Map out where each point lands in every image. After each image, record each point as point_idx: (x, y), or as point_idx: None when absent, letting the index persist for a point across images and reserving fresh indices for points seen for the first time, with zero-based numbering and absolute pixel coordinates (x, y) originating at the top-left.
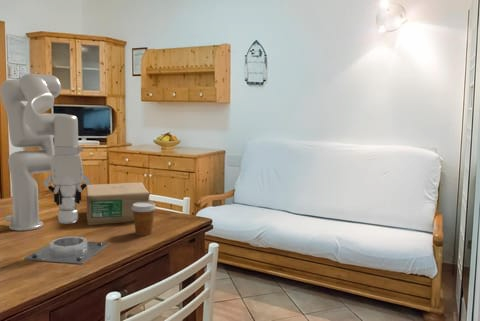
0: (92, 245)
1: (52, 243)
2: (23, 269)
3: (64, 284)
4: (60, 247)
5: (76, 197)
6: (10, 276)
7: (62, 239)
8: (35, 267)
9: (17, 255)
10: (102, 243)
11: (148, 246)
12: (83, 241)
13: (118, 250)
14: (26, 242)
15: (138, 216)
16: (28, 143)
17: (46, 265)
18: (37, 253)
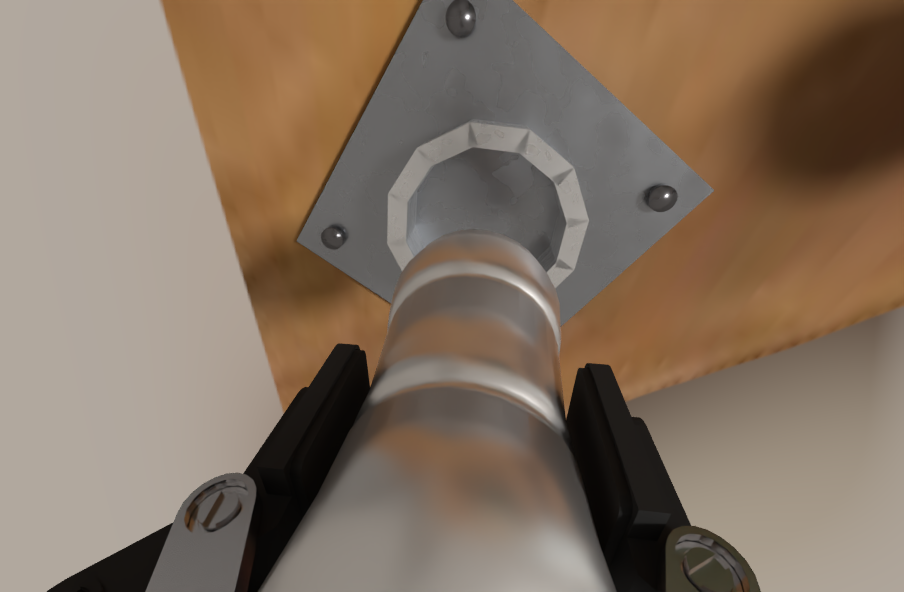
0: (614, 198)
1: (400, 226)
2: (313, 332)
3: None
4: None
5: (584, 452)
6: (285, 367)
7: (460, 151)
8: (349, 332)
9: (259, 160)
10: (679, 187)
11: (858, 311)
12: (556, 264)
13: (696, 299)
14: None
15: None
16: None
17: (385, 331)
18: (343, 203)
